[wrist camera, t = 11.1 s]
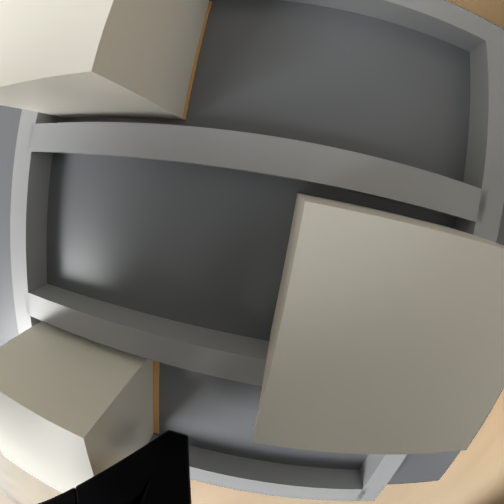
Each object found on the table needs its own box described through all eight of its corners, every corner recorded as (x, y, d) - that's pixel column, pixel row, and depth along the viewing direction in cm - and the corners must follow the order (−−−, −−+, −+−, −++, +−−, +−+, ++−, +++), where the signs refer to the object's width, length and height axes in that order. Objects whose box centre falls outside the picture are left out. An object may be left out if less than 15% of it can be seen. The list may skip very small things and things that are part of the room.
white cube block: (447, 226, 7) (550, 263, 3) (409, 353, 8) (466, 449, 4) (297, 192, 7) (305, 201, 4) (270, 332, 8) (252, 441, 4)
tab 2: (153, 350, 9) (83, 438, 5) (153, 433, 10) (107, 515, 6) (50, 315, 9) (-33, 367, 5) (62, 396, 10) (3, 455, 6)
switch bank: (534, 88, 7) (575, 75, 4) (429, 457, 10) (444, 496, 8) (40, 23, 8) (3, 6, 6) (19, 365, 12) (-12, 388, 10)
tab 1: (209, 0, 7) (158, -93, 3) (182, 118, 7) (91, 71, 3) (90, 13, 7) (10, -39, 3) (61, 117, 8) (-42, 98, 4)
